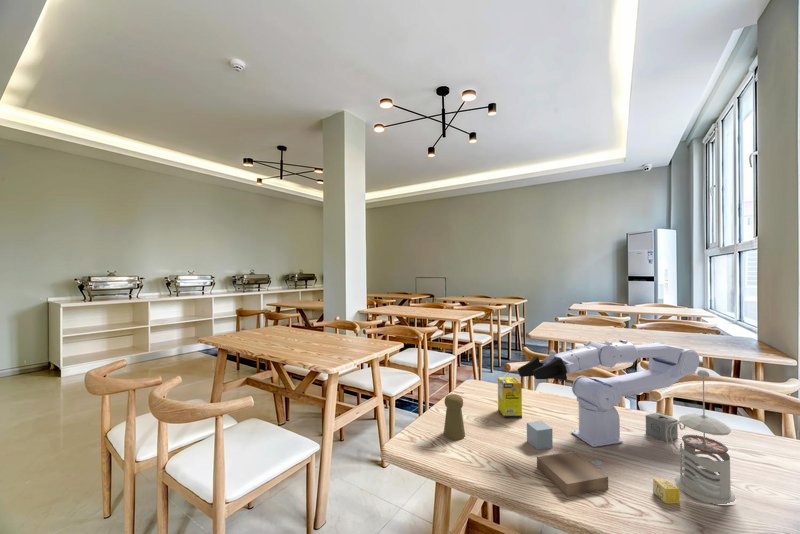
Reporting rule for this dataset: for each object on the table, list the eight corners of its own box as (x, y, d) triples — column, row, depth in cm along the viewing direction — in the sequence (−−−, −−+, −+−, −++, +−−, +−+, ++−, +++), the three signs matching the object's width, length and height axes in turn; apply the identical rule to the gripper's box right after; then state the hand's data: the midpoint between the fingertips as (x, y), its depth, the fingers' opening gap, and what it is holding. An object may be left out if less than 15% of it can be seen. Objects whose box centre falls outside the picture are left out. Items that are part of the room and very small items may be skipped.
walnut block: (573, 463, 80) (573, 451, 80) (608, 490, 70) (608, 476, 70) (537, 469, 78) (536, 457, 78) (567, 498, 68) (567, 484, 68)
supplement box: (522, 418, 103) (522, 383, 103) (503, 418, 103) (502, 383, 103) (516, 409, 109) (515, 376, 109) (497, 410, 109) (497, 376, 109)
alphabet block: (667, 492, 69) (667, 478, 69) (680, 503, 66) (680, 488, 66) (652, 493, 69) (652, 478, 69) (665, 504, 66) (664, 488, 66)
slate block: (541, 439, 91) (541, 420, 91) (552, 447, 86) (552, 428, 86) (526, 441, 90) (526, 422, 90) (537, 450, 85) (537, 430, 85)
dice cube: (677, 438, 90) (677, 419, 90) (665, 441, 88) (665, 423, 88) (657, 429, 95) (657, 412, 95) (645, 433, 93) (645, 415, 93)
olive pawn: (441, 438, 92) (440, 398, 92) (446, 428, 98) (445, 390, 98) (462, 442, 90) (462, 401, 90) (467, 431, 95) (466, 393, 95)
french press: (722, 512, 63) (720, 380, 63) (655, 477, 74) (653, 364, 74) (748, 497, 67) (746, 373, 67) (680, 466, 78) (679, 359, 78)
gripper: (551, 346, 97) (509, 357, 94) (585, 346, 83) (537, 359, 80) (558, 371, 96) (516, 382, 93) (594, 375, 82) (546, 389, 79)
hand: (526, 373), depth 86 cm, fingers open, 7 cm apart
